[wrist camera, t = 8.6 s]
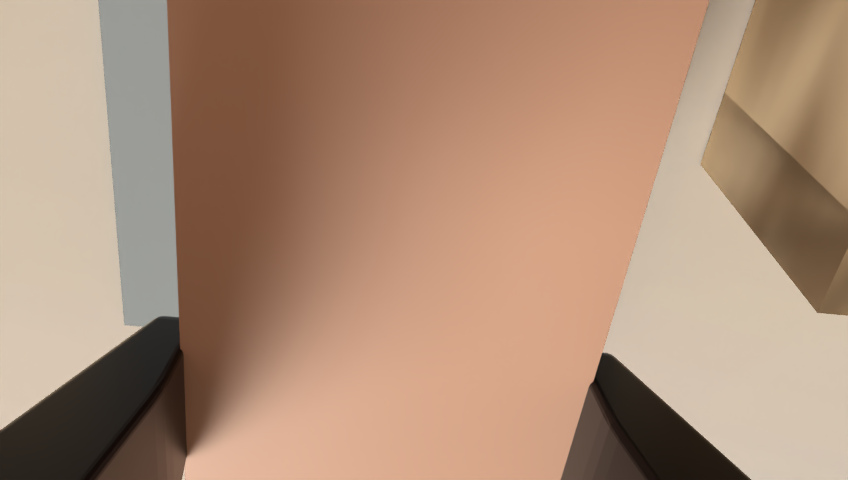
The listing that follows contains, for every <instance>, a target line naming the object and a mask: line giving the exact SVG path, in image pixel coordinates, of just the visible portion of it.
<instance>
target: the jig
mask: <svg viewBox="0 0 848 480" xmlns="http://www.w3.org/2000/svg"><path fill="white" fill-rule="evenodd" d="M701 166H702V167H703V168H704V169H705V171H706V172H707V173H708V174H709V176H710V177H711V178H712V180H713V181H714V182H715V183H716V185H717V186H718V187H719V188H720V190H721V191H722V192H723V193H724V195H725V196H726V197H727V199H728V200H729V201H730V202H731V204H732V205H733V206H734V207H735V209H736V210H737V211H738V213H739V214H740V215H741V216H742V218H743V219H744V220H745V221H746V223H747V224H748V225H749V226H750V228H751V229H752V230H753V232H754V233H755V234H756V235H757V237H758V238H759V239H760V240H761V242H762V243H763V244H764V246H765V247H766V248H767V249H768V251H769V252H770V253H771V254H772V256H773V257H774V258H775V259H776V261H777V262H778V263H779V265H780V266H781V267H782V268H783V270H784V271H785V272H786V273H787V275H788V276H789V277H790V279H791V280H792V281H793V282H794V284H795V285H796V286H797V287H798V289H799V290H800V291H801V292H802V294H803V295H804V296H805V298H806V299H807V300H808V301H809V303H810V304H811V305H812V306H813V308H814V309H815V310H816V312H817V313H826V314H837V315H848V0H756V1H755V4H754V7H753V10H752V13H751V16H750V19H749V22H748V25H747V28H746V31H745V34H744V37H743V40H742V43H741V46H740V49H739V52H738V55H737V58H736V61H735V64H734V67H733V70H732V72H731V75H730V78H729V81H728V84H727V87H726V90H725V93H724V96H723V99H722V102H721V105H720V108H719V111H718V114H717V117H716V120H715V123H714V126H713V129H712V132H711V135H710V138H709V141H708V144H707V147H706V150H705V153H704V156H703V159H702V162H701Z"/></svg>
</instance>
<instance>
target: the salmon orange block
mask: <svg viewBox="0 0 848 480" xmlns="http://www.w3.org/2000/svg"><path fill="white" fill-rule="evenodd" d="M708 3H709V0H167V17H168V43H169V69H170V96H171V122H172V148H173V175H174V201H175V227H176V253H177V280H178V306H179V332H180V349H181V350H182V351H183V356H184V385H185V414H186V443H187V457H186V462H185V480H561V477H562V474H563V470H564V467H565V464H566V460H567V457H568V454H569V451H570V447H571V444H572V441H573V437H574V434H575V431H576V427H577V424H578V421H579V418H580V414H581V411H582V408H583V404H584V401H585V398H586V394H587V391H588V388H589V385H590V384H591V383H592V382H593V381H594V378H595V374H596V371H597V368H598V365H599V361H600V358H601V355H602V351H603V348H604V345H605V342H606V338H607V335H608V332H609V328H610V325H611V322H612V319H613V315H614V312H615V309H616V306H617V302H618V299H619V296H620V292H621V289H622V286H623V283H624V279H625V276H626V273H627V269H628V266H629V263H630V260H631V256H632V253H633V250H634V246H635V243H636V240H637V237H638V233H639V230H640V227H641V223H642V220H643V217H644V214H645V210H646V207H647V204H648V200H649V197H650V194H651V191H652V187H653V184H654V181H655V177H656V174H657V171H658V168H659V164H660V161H661V158H662V154H663V151H664V148H665V145H666V141H667V138H668V135H669V131H670V128H671V125H672V122H673V118H674V115H675V112H676V108H677V105H678V102H679V99H680V95H681V92H682V89H683V86H684V82H685V79H686V76H687V72H688V69H689V66H690V63H691V59H692V56H693V53H694V49H695V46H696V43H697V40H698V36H699V33H700V30H701V26H702V23H703V20H704V17H705V13H706V10H707V7H708Z"/></svg>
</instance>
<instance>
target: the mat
mask: <svg viewBox="0 0 848 480" xmlns="http://www.w3.org/2000/svg"><path fill="white" fill-rule="evenodd" d="M98 2H99V14H100V27H101V39H102V52H103V64H104V76H105V89H106V101H107V114H108V126H109V139H110V151H111V164H112V176H113V189H114V201H115V213H116V226H117V238H118V251H119V263H120V276H121V288H122V301H123V313H124V325H130V326H143V327H144V326H145V325H147V324H148V323H149V322H151V321H152V320H154V319H155V318H157V317H160V316H172V317H179V306H178V280H177V253H176V227H175V201H174V175H173V148H172V122H171V96H170V69H169V43H168V17H167V0H98Z"/></svg>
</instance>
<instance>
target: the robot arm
mask: <svg viewBox="0 0 848 480" xmlns="http://www.w3.org/2000/svg"><path fill="white" fill-rule="evenodd" d="M186 457H187V443H186V414H185V385H184V356H183V351H182V350H181V349H180V332H179V317H172V316H160V317H157V318H155V319H154V320H152V321H151V322H149V323H148V324H147V325H145V326H144V327H142V328H141V329H140V330H138V331H137V332H136V333H134V334H133V335H131V336H130V337H129V338H127V339H126V340H125V341H123V342H122V343H120V344H119V345H118V346H116V347H115V348H113V349H112V350H111V351H109V352H108V353H107V354H105V355H104V356H102V357H101V358H100V359H98V360H97V361H95V362H94V363H93V364H91V365H90V366H89V367H87V368H86V369H84V370H83V371H82V372H80V373H79V374H77V375H76V376H75V377H73V378H72V379H71V380H69V381H68V382H66V383H65V384H64V385H62V386H61V387H59V388H58V389H57V390H55V391H54V392H53V393H51V394H50V395H48V396H47V397H46V398H44V399H43V400H41V401H40V402H39V403H37V404H36V405H35V406H33V407H32V408H30V409H29V410H28V411H26V412H25V413H23V414H22V415H21V416H19V417H18V418H17V419H15V420H14V421H12V422H11V423H10V424H8V425H7V426H6V427H4V428H3V429H1V430H0V480H182V475H183V471H184V466H185V462H186ZM561 480H751V479H750V478H749V477H748V476H747V475H745V474H744V473H743V472H742V471H741V470H740V469H739V468H738V467H736V466H735V465H734V464H733V463H732V462H731V461H730V460H729V459H728V458H726V457H725V456H724V455H723V454H722V453H721V452H720V451H719V450H718V449H716V448H715V447H714V446H713V445H712V444H711V443H710V442H709V441H708V440H706V439H705V438H704V437H703V436H702V435H701V434H700V433H699V432H698V431H696V430H695V429H694V428H693V427H692V426H691V425H690V424H689V423H688V422H686V421H685V420H684V419H683V418H682V417H681V416H680V415H679V414H678V413H676V412H675V411H674V410H673V409H672V408H671V407H670V406H669V405H667V404H666V403H665V402H664V401H663V400H662V399H661V398H660V397H659V396H657V395H656V394H655V393H654V392H653V391H652V390H651V389H650V388H649V387H647V386H646V385H645V384H644V383H643V382H642V381H641V380H640V379H639V378H637V377H636V376H635V375H634V374H633V373H632V372H631V371H630V370H629V369H627V368H626V367H625V366H624V365H623V364H622V363H621V362H620V361H619V360H617V359H616V358H615V357H614V356H612V355H611V354H608V353H602V355H601V358H600V361H599V365H598V368H597V371H596V374H595V378H594V381H593V382H592V383H591V384H590V385H589V388H588V391H587V394H586V398H585V401H584V404H583V408H582V411H581V414H580V418H579V421H578V424H577V427H576V431H575V434H574V437H573V441H572V444H571V447H570V451H569V454H568V457H567V460H566V464H565V467H564V470H563V474H562V477H561Z"/></svg>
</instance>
